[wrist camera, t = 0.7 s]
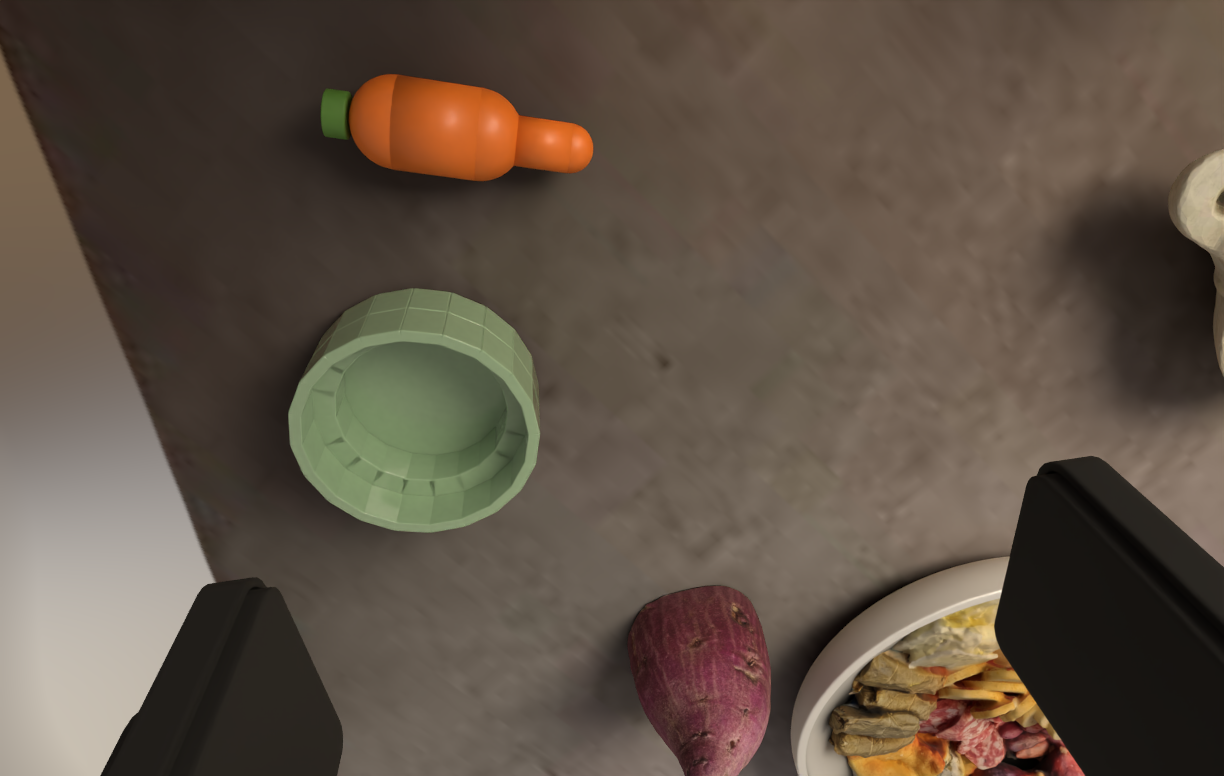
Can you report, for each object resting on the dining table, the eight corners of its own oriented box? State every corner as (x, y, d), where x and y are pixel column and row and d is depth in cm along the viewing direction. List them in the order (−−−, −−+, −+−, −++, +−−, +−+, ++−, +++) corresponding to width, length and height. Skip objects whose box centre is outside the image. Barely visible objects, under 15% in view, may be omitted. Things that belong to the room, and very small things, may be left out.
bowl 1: (311, 270, 38) (281, 318, 34) (549, 297, 40) (552, 345, 36) (318, 462, 44) (294, 525, 40) (525, 477, 46) (525, 538, 42)
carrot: (336, 147, 35) (315, 170, 32) (334, 56, 33) (312, 70, 30) (583, 182, 37) (589, 207, 34) (596, 98, 35) (603, 116, 32)
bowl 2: (701, 700, 59) (723, 798, 53) (1024, 461, 50) (1102, 543, 43) (915, 817, 72) (955, 908, 65) (1208, 644, 62) (1291, 730, 55)
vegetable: (603, 601, 57) (560, 771, 44) (720, 546, 54) (712, 713, 40) (679, 695, 60) (660, 883, 46) (795, 649, 56) (812, 838, 43)
